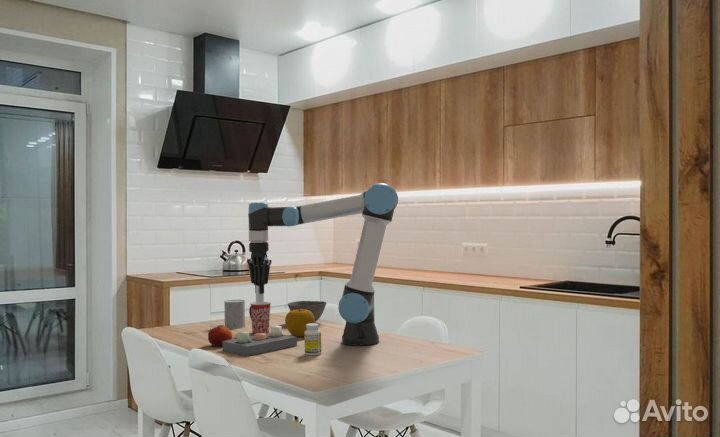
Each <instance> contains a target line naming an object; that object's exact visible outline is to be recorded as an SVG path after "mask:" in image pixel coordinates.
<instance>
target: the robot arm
mask: <svg viewBox="0 0 720 437" xmlns="http://www.w3.org/2000/svg"><path fill="white" fill-rule="evenodd" d="M398 203H399V195H398V193H397V191H396V189H395V188H393V187H392V186H391V185H390V184H388V183H383V182H379V183H375V184H372V185H371V186H369V188H367V189H366V190H365V191H364V190H363V191H362V192H361V193H360V194H357V195H352V196H346V197H341V198H336V199H335V198H334V199H330V200H326V201H319V202H314V203H309V204H304V205H297V206H277V207H275V206H274V207H273V206H272V207H270V206H269V204H268V203H267V202H251V203H249V204H248V214H247V215H248V216H247V217H248V241H249V244H248V252H249V253H251V255H250V258H247V260H246V263H247V265H248V270H249V278H250V282H251V284H253V285H254V290H255V302H265V301H264V300H265V297H264V294H265V285H266V284H268V283H269V276H270V271H271V270H270V269H271V264H272V262H273V261H272V259H269V258H268V254H267V252H269V242H268V241H269V227H296V226H299V225H303V224H310V223H315V222H316V223H317V222H321V221H326V220H332V219H338V218H343V217H344V218H345V217H349V216H356V215H360V214H361V215H362V217H363V220H364V221H363V227H362V230H361V235H360V238H359V242H358V247H357V250H356V255H355V260H354V263H353V268H352V270H351V274H350V280H349V281H347V282H346V283H344V286H343V287H344V288H343V291H342V296H341V297H340V300H339V302H338V305H337V306H338V313H339V315H340V317H341V318H342V319H343V320H344V321H345V326H344V328H343V332H342V333H343V334H342V335H341V343H342V344H344V345H348V346H370V345H375V344H378V343H379V342H380V336H379V334H378V330H377V327H376V323H375V288H374V286H373V282H374V279H375V273H376V270H377V267H378V266H377V265H378V261H379V259H380V253H381V249H382V246H383V245H382V244H383V241H384V236H385V233H386V229H387V225H389V224H391V223H392V221H393V216H394V213H395V209H396V207H397V206H398Z"/></svg>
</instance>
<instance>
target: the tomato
mask: <svg viewBox="0 0 720 437" xmlns="http://www.w3.org/2000/svg"><path fill="white" fill-rule="evenodd" d="M207 334H208V335H207V339H208V342H209V344H210V345H212V346H220V347H223V341H227V340H232V339H233V333H232V331H231V329H228V328H227V327H225V324H219V325H217V326H216V327H213V328H212V329H210V331H209V332H208V333H207Z"/></svg>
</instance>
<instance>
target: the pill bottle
mask: <svg viewBox="0 0 720 437" xmlns="http://www.w3.org/2000/svg"><path fill="white" fill-rule="evenodd" d="M319 325H320V324H319V323H318V322H317V323H316V322H315V323H311V324H306V329H307V330H306V331H305V333H304V337H303V338H304V354H305V355H307V356H318V355H321V354H322V332H321V330H320V328H319V327H320V326H319Z"/></svg>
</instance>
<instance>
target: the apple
mask: <svg viewBox="0 0 720 437" xmlns="http://www.w3.org/2000/svg"><path fill="white" fill-rule="evenodd" d="M284 320H285V321H284V323H285V327H286V329H287V331H288V332H289V333H290V334H291V336H295V337H297V338H304V333H305V331H306V330H307V329H306V324H311V323H316V322H315V318H314V316H313V314H312V312H311V311H309V310H306V309H297V310H292V311H290V310H289V312H287V314H286V316H285V319H284Z"/></svg>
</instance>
